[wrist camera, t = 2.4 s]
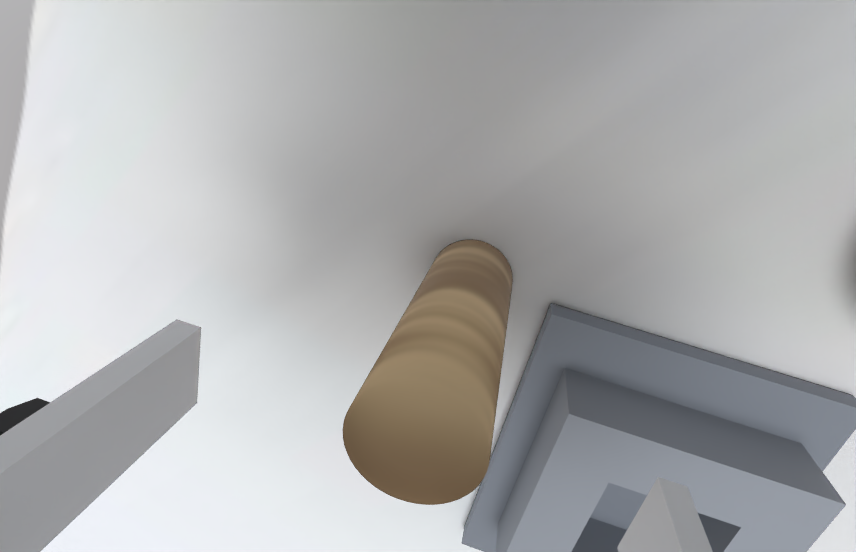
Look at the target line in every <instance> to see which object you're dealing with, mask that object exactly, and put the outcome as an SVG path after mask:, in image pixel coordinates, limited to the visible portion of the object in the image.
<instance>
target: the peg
mask: <svg viewBox="0 0 856 552" xmlns="http://www.w3.org/2000/svg"><path fill="white" fill-rule="evenodd" d="M512 281H513V279H512V271H511V268H510V265H509V263H508V261H507V259H506V258H505V256H504V255H503V254H502V253H501V252H500V251H499V250H498V249H496V248H495V247H493V246H492V245H490V244H488V243H485V242H483V241H478V240H461V241H458V242H455V243H452V244H450V245H449V246H447V247H446V248H444V249H443V250H442V251H441V252H440V253H439V254H438V256H437V257H436V259H435V261H434V262H433V264H432V266H431V268H430V269H429V271H428V273H427V274H426V276H425V278H424V280H423V281H422V283H421V285H420V287H419V288H418V290H417V292H416V293H415V295H414V297H413V299H412V300H411V302H410V304H409V306H408V307H407V309H406V311H405V313H404V314H403V316H402V318H401V319H400V321H399V323H398V325H397V326H396V328H395V330H394V332H393V333H392V335H391V337H390V338H389V340H388V342H387V344H386V345H385V347H384V349H383V351H382V352H381V354H380V356H379V358H378V359H377V361H376V363H375V364H374V366H373V368H372V370H371V371H370V373H369V375H368V377H367V378H366V380H365V382H364V383H363V385H362V387H361V389H360V390H359V392H358V394H357V396H356V397H355V399H354V401H353V403H352V404H351V406H350V408H349V410H348V412H347V414H346V416H345V420H344V424H343V440H344V445H345V448H346V451H347V454H348V456H349V458H350V460H351V462H352V463H353V465H354V466H355V468H356V469H357V470H358V471H359V473H360V474H361V475H362V476H363V477H364V478H365V479H366V480H367V481H368V482H370V483H371V484H372V485H373V486H375V487H376V488H378V489H379V490H381V491H383V492H384V493H386V494H388V495H390V496H393V497H395V498H397V499H400V500H404V501H407V502H411V503H416V504H426V505H435V504H444V503H448V502H452V501H455V500H458V499H460V498H462V497H464V496H466V495H468V494H469V493H470V492H472V491H473V490H474V489H475V488H476V487H477V486H478V485H479V484H480V483H481V481H482V480H483V479H484V477H485V475H486V473H487V470H488V466H489V461H490V453H491V446H492V438H493V430H494V422H495V414H496V407H497V399H498V391H499V383H500V375H501V368H502V360H503V352H504V344H505V336H506V329H507V321H508V313H509V305H510V297H511V290H512Z"/></svg>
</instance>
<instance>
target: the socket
mask: <svg viewBox="0 0 856 552" xmlns="http://www.w3.org/2000/svg"><path fill="white" fill-rule="evenodd" d="M855 429H856V398H855V397H854V396H853V395H850V394H847V393H843V392H840V391H837V390H834V389H830V388H827V387H824V386H820V385H817V384H814V383H811V382H807V381H804V380H801V379H798V378H794V377H791V376H788V375H784V374H781V373H778V372H775V371H771V370H768V369H765V368H762V367H758V366H755V365H752V364H748V363H745V362H742V361H739V360H735V359H732V358H729V357H725V356H722V355H719V354H716V353H712V352H709V351H706V350H703V349H699V348H696V347H693V346H689V345H686V344H683V343H680V342H676V341H673V340H670V339H667V338H663V337H660V336H657V335H653V334H650V333H647V332H644V331H640V330H637V329H634V328H631V327H627V326H624V325H621V324H617V323H614V322H611V321H608V320H604V319H601V318H598V317H595V316H591V315H588V314H585V313H581V312H578V311H575V310H572V309H568V308H565V307H562V306H559V305H555V304H552V303H551V304H550V307H549V309H548V312H547V315H546V317H545V320H544V322H543V325H542V327H541V330H540V333H539V335H538V338H537V340H536V343H535V346H534V348H533V351H532V353H531V356H530V358H529V361H528V364H527V366H526V369H525V371H524V374H523V377H522V379H521V382H520V384H519V387H518V389H517V392H516V395H515V397H514V400H513V402H512V405H511V408H510V410H509V413H508V415H507V418H506V420H505V423H504V426H503V428H502V431H501V433H500V436H499V439H498V441H497V444H496V446H495V449H494V452H493V454H492V457H491V459H490V462H489V466H488V470H487V473H486V475H485V477H484V479H483V480H482V483H481V485H480V488H479V490H478V493H477V495H476V498H475V501H474V503H473V506H472V508H471V511H470V514H469V516H468V519H467V521H466V524H465V526H464V532H463V538H462V544H465V545H467V546H470V547H473V548H476V549H478V550H481V551H484V552H618V549H617V547H618V545H619V543H620V541H621V540H622V538H623V536H624V535H625V533H626V531H627V529H628V528H629V526H630V524H631V523H632V521H633V519H634V517H635V516H636V514H637V512H638V511H639V509H640V507H641V505H642V504H643V502H644V500H645V498H646V497H647V495H648V493H649V492H650V490H651V488H652V486H653V485H654V483H655V481H656V480H657V478H658V477H660V478H663V479H666V480H669V481H672V482H675V483H678V484H681V485H684V486H687V487H688V490H689V492H690V495H691V497H692V500H693V502H694V505H695V508H696V510H697V513H698V515H699V518H700V520H701V523H702V525H703V528H704V531H705V533H706V536H707V538H708V541H709V543H710V546H711V548H712V551H713V552H807V551H808V549H809V548H810V547H811V546H812V545H813V543H814V542H815V541H816V540H817V539H818V537H819V536H820V535H821V534H822V533H823V532H824V530H825V529H826V528H827V527H828V526H829V524H830V523H831V522H832V521H833V520H834V518H835V517H836V516H837V515H838V514H839V513H840V511H841V510H842V509H843V508H844V507H845V505H846V504H845V502H844V501H843V500H842V498H841V497H840V496H839V494H838V493H837V491H836V490H835V489H834V487H833V486H832V485H831V483H830V482H829V480H828V479H827V478H826V476H825V475H824V474H823V472H822V471H823V470H824V469H825V468H826V466H827V465H828V464H829V462H830V461H831V460H832V459H833V457H834V456H835V455H836V453H837V452H838V451H839V450H840V448H841V447H842V446H843V445H844V443H845V442H846V441H847V439H848V438H849V437H850V436H851V434H852V433H853V432H854V430H855Z"/></svg>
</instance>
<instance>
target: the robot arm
mask: <svg viewBox="0 0 856 552" xmlns="http://www.w3.org/2000/svg"><path fill="white" fill-rule="evenodd" d="M200 339H201V327H198V326H195V325H192V324H189V323H186V322H183V321H180V320H175V321H174V322H172V323H171V324H169V325H168V326H166V327H165V328H163V329H162V330H160V331H158V332H157V333H155V334H154V335H152V336H151V337H149V338H148V339H146V340H145V341H143V342H142V343H140V344H139V345H137V346H136V347H134V348H133V349H131V350H130V351H128V352H127V353H125V354H123V355H122V356H120V357H119V358H117V359H116V360H114V361H113V362H111V363H110V364H108V365H107V366H105V367H104V368H102V369H101V370H99V371H98V372H96V373H95V374H93V375H92V376H90V377H89V378H87V379H85V380H84V381H82V382H81V383H79V384H78V385H76V386H75V387H73V388H72V389H70V390H69V391H67V392H66V393H64V394H63V395H61V396H60V397H58V398H57V399H55V400H54V401H52V402H47V401H44V400H41V399H39V398H36V399H33V400H31V401H28V402H25V403H22V404H19V405H17V406H14V407H11V408H8V409H6V410H5V411H3V412H2V413H0V552H40V551H41V550H42V549H43V548H44V547H46V546H47V545H48V544H49V543H50V542H51V541H52V540H53V539H54V538H55V537H56V536H57V535H58V534H59V533H60V532H61V531H62V530H63V529H64V528H66V527H67V526H68V525H69V524H70V523H71V522H72V521H73V520H74V519H75V518H76V517H77V516H78V515H79V514H80V513H81V512H82V511H83V510H85V509H86V508H87V507H88V506H89V505H90V504H91V503H92V502H93V501H94V500H95V499H96V498H97V497H98V496H99V495H100V494H101V493H102V492H104V491H105V490H106V489H107V488H108V487H109V486H110V485H111V484H112V483H113V482H114V481H115V480H116V479H117V478H118V477H119V476H120V475H121V474H123V473H124V472H125V471H126V470H127V469H128V468H129V467H130V466H131V465H132V464H133V463H134V462H135V461H136V460H137V459H138V458H139V457H140V456H142V455H143V454H144V453H145V452H146V451H147V450H148V449H149V448H150V447H151V446H152V445H153V444H154V443H155V442H156V441H157V440H158V439H159V438H161V437H162V436H163V435H164V434H165V433H166V432H167V431H168V430H169V429H170V428H171V427H172V426H173V425H174V424H175V423H176V422H177V421H178V420H180V419H181V418H182V417H183V416H184V415H185V414H186V413H187V412H188V411H189V410H190V409H191V408H192V407H193V406H194V405H195V404H196V403H197V394H198V376H199V357H200ZM617 549H618V552H713V551H712V548H711V546H710V543H709V541H708V538H707V536H706V533H705V531H704V528H703V525H702V523H701V520H700V518H699V515H698V513H697V510H696V508H695V505H694V502H693V500H692V497H691V495H690V492H689V490H688V487H687V486H684V485H681V484H678V483H675V482H672V481H669V480H666V479H663V478H660V477H658V478H657V480H656V481H655V483H654V485H653V486H652V488H651V490H650V492H649V493H648V495H647V497H646V498H645V500H644V502H643V504H642V505H641V507H640V509H639V511H638V512H637V514H636V516H635V517H634V519H633V521H632V523H631V524H630V526H629V528H628V529H627V531H626V533H625V535H624V536H623V538H622V540H621V541H620V543H619V545H618V547H617Z"/></svg>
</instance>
